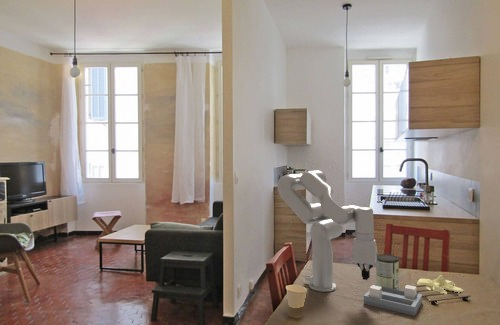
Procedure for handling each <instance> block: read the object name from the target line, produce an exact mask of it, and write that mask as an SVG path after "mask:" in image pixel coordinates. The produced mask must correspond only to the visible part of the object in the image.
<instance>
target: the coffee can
mask: <svg viewBox="0 0 500 325" xmlns="http://www.w3.org/2000/svg"><path fill="white" fill-rule="evenodd" d="M399 262H400V258H399V257H398V256H396V255H394V254H378V267H375V285H378V286H383V287H388V288H393V289H398V290H400V288H399V287H400V286H399V285H400V284H399V282H400V280H399V279H400V278H399V277H400V276H399V275H400V274H399V273H400V272H399V271H400V268H399V265H400V264H399Z"/></svg>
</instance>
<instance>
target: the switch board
mask: <svg viewBox="0 0 500 325" xmlns="http://www.w3.org/2000/svg"><path fill="white" fill-rule="evenodd" d="M374 285H375V286H378V285H376V284H374ZM380 287H382V299H379V298H375V297H370V296H369V290H368V291H366V293H365V294H364V295H363V304H364V305H368V306H372V307H374V308H375V307H376V308H381V309H384V310H389V311H393V312H397V313H402V314H406V315H410V316H413V317H415V316H416V315H417V313H418V311H419V309H420V307H421V306H422V304H423V294H421V293H418V292H416V298H411V297H406V296H404V290H402V289H393V288H388V287H383V286H380Z"/></svg>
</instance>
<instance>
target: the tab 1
mask: <svg viewBox="0 0 500 325" xmlns="http://www.w3.org/2000/svg"><path fill="white" fill-rule="evenodd" d="M375 285H376V284H371V286H370V287H369V289H368V291H369V296H370V297H375V298H379V299H382V287H380V286H375Z"/></svg>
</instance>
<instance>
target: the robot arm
mask: <svg viewBox="0 0 500 325" xmlns="http://www.w3.org/2000/svg"><path fill="white" fill-rule="evenodd" d="M302 190H306V191H307V192H308V193H310V194H311V195H312V196H313V197H314V198H315V199H317V201H319V203H318V202H316V203H310V201H308V200H307V199H306V198H305V197H304V196H303V195H302V194H300V193H299V192H297V191H302ZM277 192H278V194H279V196H280V198H281V199H282V200H283V202H285V204H287V205H288V207H290V209H291V210H292V211H293V212H294V213H295V215H296V216H297V217H298V218H299V220H301V221H302V223H304V224H306V225H311V227H310V232H309V233H310V240H311V247H312V248H311V249H312V252H311V253H312V254H311V257H312V258H311V259H312V261H311V262H312V264H311V268H312V272H311V273H312V274H311V275H310V274H304V275H305V276H304V278H305V281H309V283H308V287H309V289H312V290H313V291H317V292H323V293H325V292H326V293H329V292H333V291H336V289H337V284H336V283H335V282H334V280H333V279H334V273H333V272H334V271H333V270H334V254H333V250H334V249H333V246H332V243H331V240H332V239H336V238H338V237H340V236H341V235H342V233H343V225H346V224H347V225H348V224H350V223H354V224H355V225H354V226H355V229H354V230H355V231H354V232H352V235H351V236H354V238H353V242H352V250H351V259H352V260H351V261H352V264H353V265H355V266H357V267H358V268H360V271H361V277H362V280H363V281H364V280H365V281H368V280H369V279H370V277H371V275H370V273H371V271H370V270H371V269H372V268H376V267H378V255H379V253H378V246H377V242H376V241H377V240H376V239H375V232H374V230H375V229H374V228H375V227H374V226H375V225H374V222H375V221H374V210H373V208H371V207H368V206H367V207H366V206H358V205H353V204H349V205H344V206H340V205H339V204H338V203H336V201H335V200H334V199H332V195H333V192H334V189H333V187H331V186H330V185H329V184H328V183H327V176H326V174H325V173H324V172H323V171H321V170H309V171H308V170H307V171H305V172H303V173H291V174H290V173H289V174H285V175H283V176H281V177H280V178H279V179H278V181H277Z"/></svg>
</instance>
